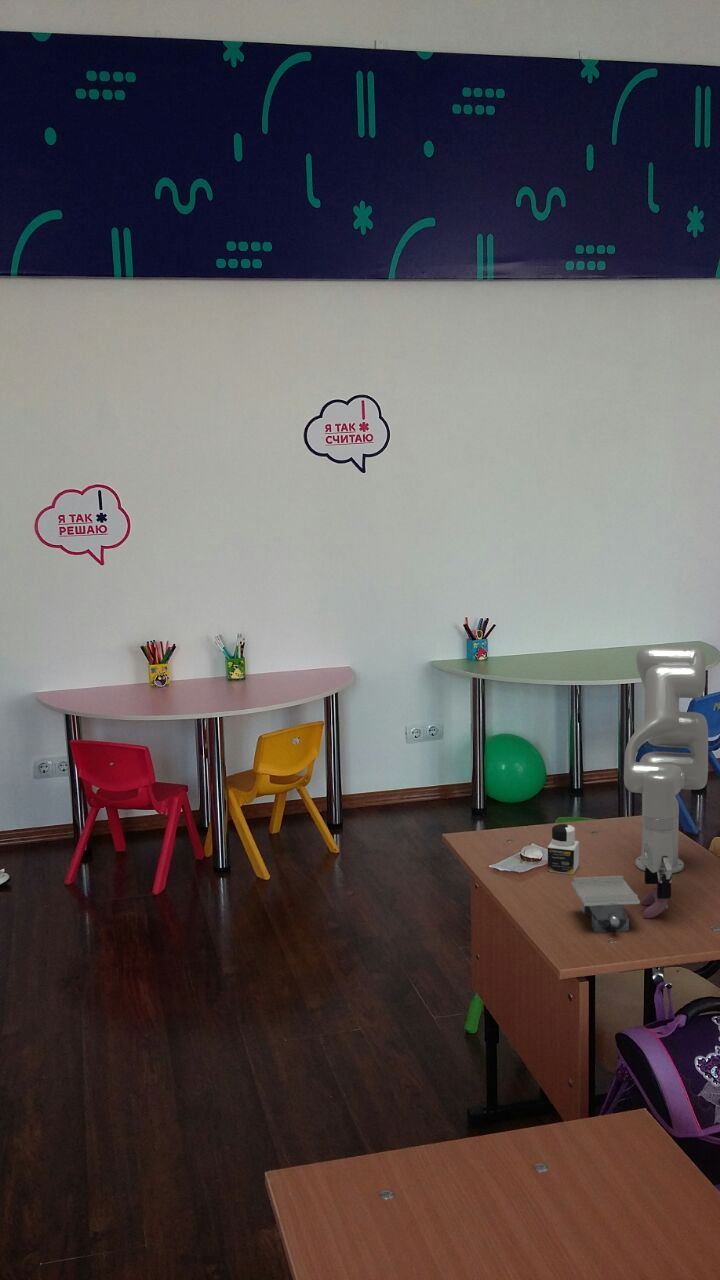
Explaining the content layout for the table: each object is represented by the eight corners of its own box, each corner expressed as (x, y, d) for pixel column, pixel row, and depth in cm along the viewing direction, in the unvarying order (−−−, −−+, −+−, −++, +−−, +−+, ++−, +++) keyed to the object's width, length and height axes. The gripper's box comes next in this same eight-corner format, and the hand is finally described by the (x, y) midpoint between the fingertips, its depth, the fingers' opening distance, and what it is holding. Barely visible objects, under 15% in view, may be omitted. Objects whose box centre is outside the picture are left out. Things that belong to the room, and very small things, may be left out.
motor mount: (571, 910, 271) (571, 877, 270) (623, 908, 272) (624, 875, 271) (587, 938, 256) (587, 902, 254) (643, 935, 256) (643, 900, 255)
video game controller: (658, 926, 265) (673, 902, 264) (641, 917, 266) (655, 892, 264) (656, 909, 275) (669, 886, 273) (639, 901, 275) (652, 877, 274)
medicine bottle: (547, 871, 298) (547, 828, 296) (553, 862, 304) (553, 820, 303) (573, 874, 295) (574, 831, 293) (579, 865, 302) (579, 823, 300)
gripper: (632, 812, 275) (631, 879, 277) (654, 834, 258) (653, 904, 260) (662, 811, 275) (661, 878, 277) (686, 833, 258) (684, 903, 260)
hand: (657, 890), depth 269 cm, fingers open, 9 cm apart
